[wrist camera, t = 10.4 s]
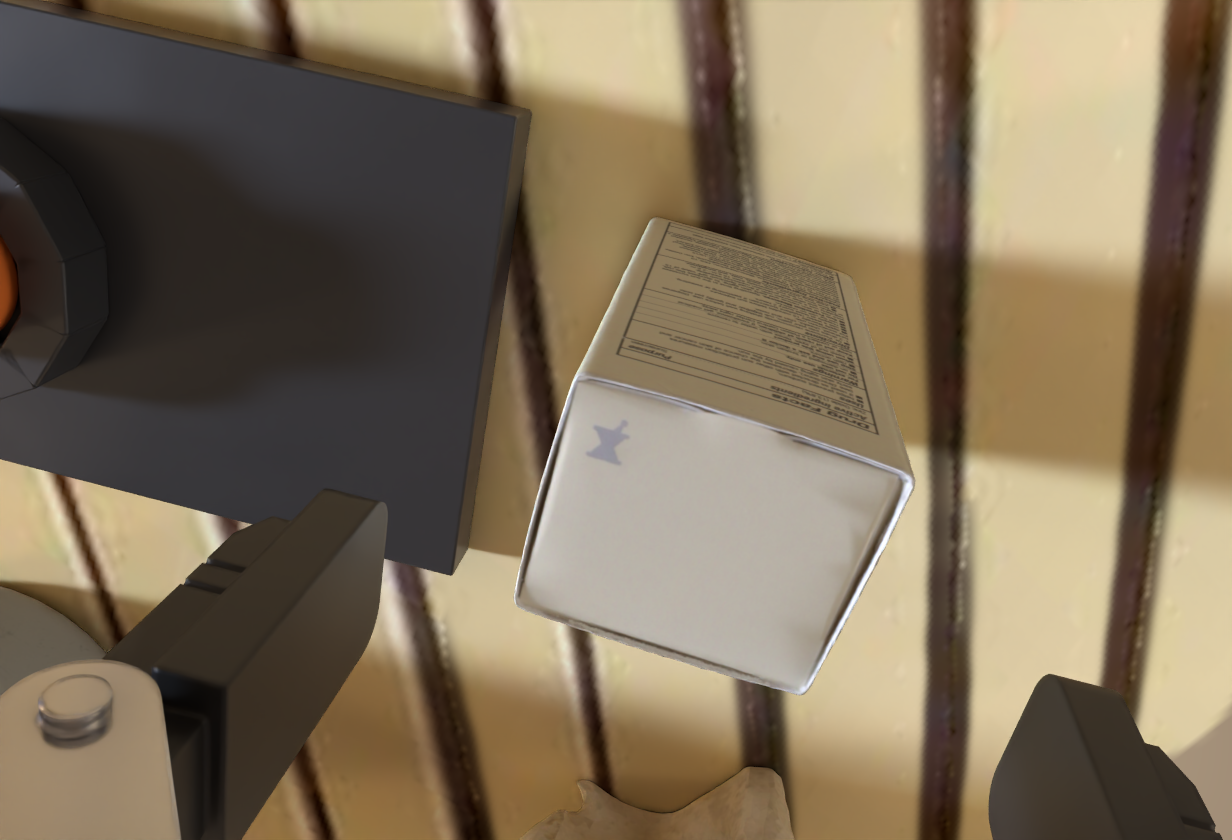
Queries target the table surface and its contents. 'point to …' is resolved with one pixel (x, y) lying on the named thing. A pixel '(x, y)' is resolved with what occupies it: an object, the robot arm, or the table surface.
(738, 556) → the white medicine box
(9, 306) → the button
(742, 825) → the beige figurine
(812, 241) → the table surface
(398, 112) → the black button panel
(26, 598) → the water bottle
